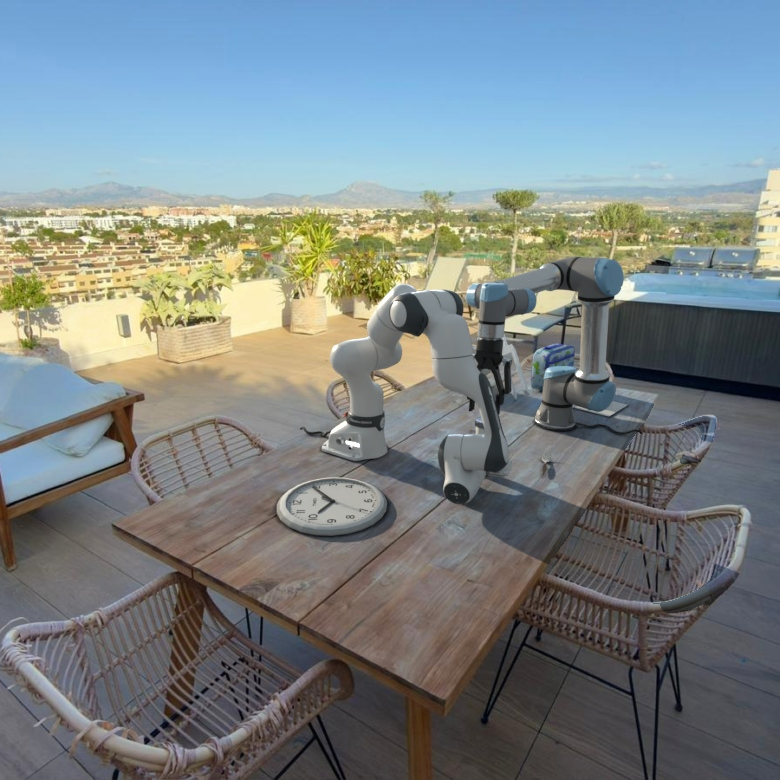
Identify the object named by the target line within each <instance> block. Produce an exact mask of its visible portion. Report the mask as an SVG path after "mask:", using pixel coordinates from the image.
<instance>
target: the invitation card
mask: <svg viewBox="0 0 780 780" xmlns="http://www.w3.org/2000/svg"><path fill="white" fill-rule="evenodd" d="M628 406H629V404H627V403H623V402H618V401H614V400H613V401H612V402H611V404H610V405H609V406H608V407H607V408H606V409H605V410H603V411H601V412H596V411H592V410H588V409H585V408H582V407H579V406H576V405H575V406H574V407H573V409H575V410H581V411H584V412H587V413H593V414H596V415H600V416H604V417H608V418H609V417H611V416H613V415H614V414H616V413H617V412H619V411H621V410H623V409H624V408H626V407H628Z"/></svg>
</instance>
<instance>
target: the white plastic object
mask: <svg viewBox="0 0 780 780" xmlns="http://www.w3.org/2000/svg"><path fill="white" fill-rule="evenodd" d="M502 339H503V350H502V356H503V358H504V359H507V360H512V361H513V363H514V366H515V369H516V372H517V376H518V380H519V382H520V385H521V389H522V391H523V393H524V395H525V396H526V397H528V396H531V395H530V390H529V388H528V387H529V386H528V384H527V381H526V378H525V375H524V371H523V369H522V368H523V367H522V366H521V362H520V359H519V355H518V352H517V349H516V347H515V346H514V345H513V343H511V344H508V341H507V337H506V334H505V333H504V337H503V338H502ZM476 346H477V345H473V346H472V348H473V354H475V353H476ZM474 362H475V364H476V366H477V365H478V363H477V361H476V359H475V358H474ZM500 366H502V370H503V371H504V366H503V363H502V362H501V363H500V364H499V367H500ZM481 373H482V374H484V375H486V376H487V375H489V374H490V373H492V371H491V370H488V369H482V371H481ZM516 391H517V390H516V388H515V385H514V381H513V378H512V377H511V392H510V394H511V395H512V397H513V398H514V399H515V400H517V392H516Z"/></svg>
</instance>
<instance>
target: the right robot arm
mask: <svg viewBox="0 0 780 780" xmlns="http://www.w3.org/2000/svg"><path fill="white" fill-rule="evenodd" d="M624 278H625V277H624V271H623V268H622V265H621V264H620V263H619V262H618V260H615V259H612V258H606V257H592V256H591V257H590V256H587V257H586V256H569V257H565V258H561V259H556V260H554V261H551V262H547V263H544V264H542V266H540V267H539V268H537V269H534V270H530V271H527V272H524V273H520V274H517V275H513V276H510V277H507V278H503V279H500V280H497V281H493V282H485V283H472V284H471V285H470V286H469V287H468V289H467V290H466V294H465V299H466V303H467V304H468V306H470V307H472V308H476V309H477V310H478V323H477V334H476V335H477V338H476V345H475V346H476V353H475V354H473V357H474V358H475V359H476V361H477V363H478V365H477V368H478V370H479V371H480V372H481V371H482V369H488V370H491V371H492V372H491V373H492V375H493V376H492V377H493V378H494V382H495V385H496V390H497V394H496V395H495V403H496V407H497V410H498V414H499V415H500V411H501V406H503V405H504V403H505V395H510V394H511V378H512V370H511V369H512V364H513V359H511V360H507V359H504V358H503V356H502V350H503V339H502V338H503V337H504V334H505V326H506V317H510V316H520V315H521V316H523V315H526V314H527V315H528V314H530V313H532V312H533V311H534V310H535V308H536V306H537V302H538V301H537V299H538V298H537V295H536V294H538V293H541V292H545V291H546V292H553V291H559V290H560V291H570V292H576V293H577V301H578V302H579V303H580V304H581V320H580V321H581V324H580V347H579V353H580V354H579V368H577V367H576V366H573V367H571V366H555V367H549V368H547V369H546V371H545V375H544V378H543V379H544V381H543V390H542V394H541V402H540V405H539V407H538V409H537V411H536V413H535V416H534V424H535V425H536V426H537V427H539V428H542V429H544V430H549V431H556V432H567V431H572V430H574V429H575V428H576V425H577V426H581V427H584V428H588V429H589V428H590V429H591V428H595V427H603V428H606V429H608V430H609V431H611V433H614V434H617V435H628V434H631V433H634V432H637V433H638V434H640V435H643V434H644V433H643V431H642V430H640V429H636V428H635V429H631V430H628V431H617V430H615V429H613V428H612V427H611V426H609V425H607V424H603V423H596V424H592V425H591V424H590V425H589V424H585V423H582V422H577V421H576V418H575V417H576V416H575V413H574V407H573V406H575V407H576V406H579V407H582V408H585V409H588V410H592V411H596V412H601V411H603V410H605V409H606V408H607V407H608V406H609V405H610V404H611V402H612V401H614V398H615V396H616V392H617V386H616V384H615V383H614V382H613V381H610V372H609V371H608V370H607V369H606V362H607V347H608V333H609V332H608V330H609V329H608V328H609V314H610V313H609V312H610V304H611V303H612V302H613V301H614V300H615V296H617V295H618V294H619V293H620V292H621V291H622V287H623V285H624V280H625V279H624ZM501 362H502V363H503V366H504V370H503V378H502V375H501V372H500V371H501V369H500V366H499V364H500V363H501ZM502 363H501V364H502ZM466 399H467V400H469V403H468V412H473V411H474V410H475V409H476V408H475V406H476V402H475V401H474V400H472V399H471V398H469V397H467V396H466Z"/></svg>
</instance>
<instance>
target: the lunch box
mask: <svg viewBox="0 0 780 780" xmlns="http://www.w3.org/2000/svg"><path fill="white" fill-rule="evenodd" d="M575 352H576V351H575V346H573V345H568V344H562V343H553V344H550V345H547V346H546V345H545V346H544V347H541V348H538V349H537V350H536V351H535V352H534V354H533V357H532V362H531V371H530V372H531V374H530V387H531V389H533V390H539V391H543V381H544V379H543V378H544V375H545V371H546V369H547V368H549V367H555V366H571V367H574V363H575Z"/></svg>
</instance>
